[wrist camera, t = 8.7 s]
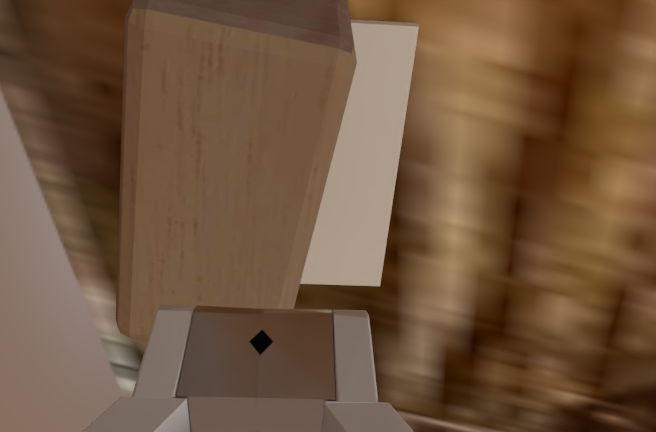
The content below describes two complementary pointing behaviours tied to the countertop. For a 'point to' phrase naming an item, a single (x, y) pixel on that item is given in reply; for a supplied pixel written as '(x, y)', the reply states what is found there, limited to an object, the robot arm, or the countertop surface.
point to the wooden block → (225, 149)
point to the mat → (364, 160)
